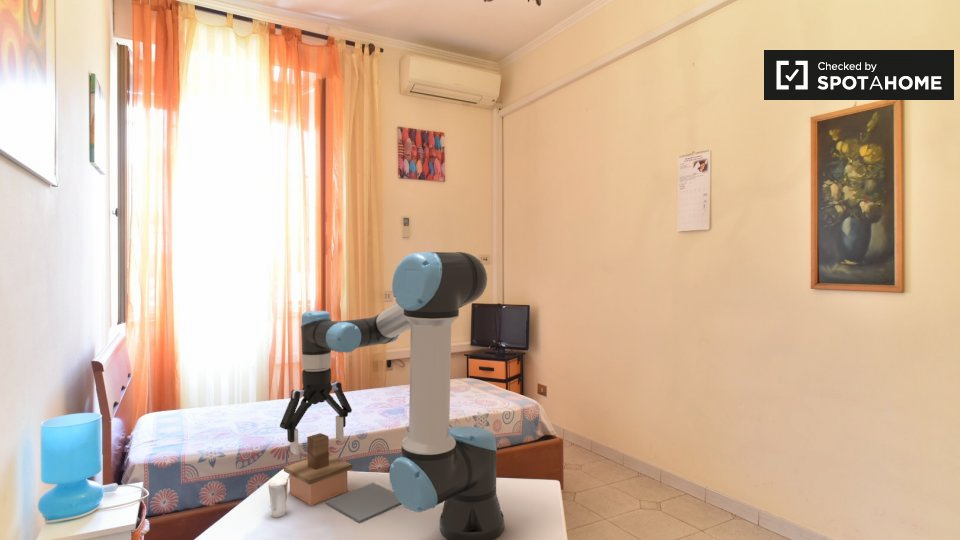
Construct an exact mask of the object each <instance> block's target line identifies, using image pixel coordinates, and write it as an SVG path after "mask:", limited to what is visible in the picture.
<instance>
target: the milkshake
mask: <svg viewBox="0 0 960 540" xmlns="http://www.w3.org/2000/svg"><path fill="white" fill-rule="evenodd" d="M289 476H290V475H289V474H288V477H287V478H286V477H284V476H274V477H273V478H271V479H270V480H269V481H268V483H267V485H268V493H269V503H270V512H271V514H270V515H271V516H272V517H273V518H282V517H283V516H285V515H286V513H287V496H288V486H289V485H288V484H289Z"/></svg>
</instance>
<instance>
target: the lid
mask: <svg viewBox="0 0 960 540" xmlns="http://www.w3.org/2000/svg"><path fill="white" fill-rule="evenodd" d="M306 439H307V442H306V443H307V445H306V446H307V459H303V460H301V461H300V460H299V461H298V462H295V463H292V464H288V465H286V466H283V472H284V473H286V474H288V475H289V474H290V475H292V476H294V477H296V478H298V479H299V480H301V481H303V482H305V483H307V484H309V485H310V484H313V483H316V482H319V481H321V480H324V479H327V478H330V477H332V476H335V475H338V474H340V473H343V472H346V471H347V472H348V471H350V470H351V471H352V470H353V464H352V463H350V462H348V461H346V460H343V459H341V458H338V457H336V456H333V455H331V454H329V452H330V450H329V449H330V447H329V444H330V443H329V436H328V435H326V434H323V433H322V432H319V433H316V434H312V435H309V436H306Z"/></svg>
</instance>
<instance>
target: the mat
mask: <svg viewBox="0 0 960 540" xmlns="http://www.w3.org/2000/svg"><path fill="white" fill-rule="evenodd" d="M324 501H325V505H326V506H329V507H330V508H332V509H334V510H335V511H338V512H339V513H341V514H343V515H344V516H345V517H348V518H349V519H351V520H353V521H355V522H356V523H358V524H361V523H363V522H365V521H368V520H370V519H372V518H374V517H376V516H379V515H380V514H383V513H385V512H387V511H390V510H392V509H394V508H396V507H398V506H402V504H401V503H400V501H399V500H398V498H397V497H396V495H395V494H394V492H393V490H392V491H391V490H390V489H388V488H385V487H384V486H381V485H379V484H377V483H375V482H371V483H369V484H367V485H363V486H361V487H357V488H355V489H354V490H351V491H349V492H348V491H347V492H345V493H342V494H340V495H339V496H338V495H337V496H335V497H332V498H330V499H327V500H324Z"/></svg>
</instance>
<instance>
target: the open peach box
mask: <svg viewBox="0 0 960 540" xmlns="http://www.w3.org/2000/svg"><path fill="white" fill-rule="evenodd" d="M289 475H290V474H288V477H289V479H288V484H289V494H291V495H292V496H294V497H296V498H297V499H299V500H300V501H303V502H304V503H306V504H308V505H309V506H313V505H316V504H318V503H321V502H324V501H327V500H330V499H332V498H335V497H337V496H338V495H339V496H340V495H342V494H345V493H348V489H349V488H348V485H349V484H348V471H346V472H343V473H340V474H338V475H335V476H332V477H330V478H327V479H324V480H321V481H319V482H316V483H313V484H310V485H309V484H307V483H305V482H303V481H301V480H299V479H298V478H296V477H294V476H292V475H290V476H289Z"/></svg>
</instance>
